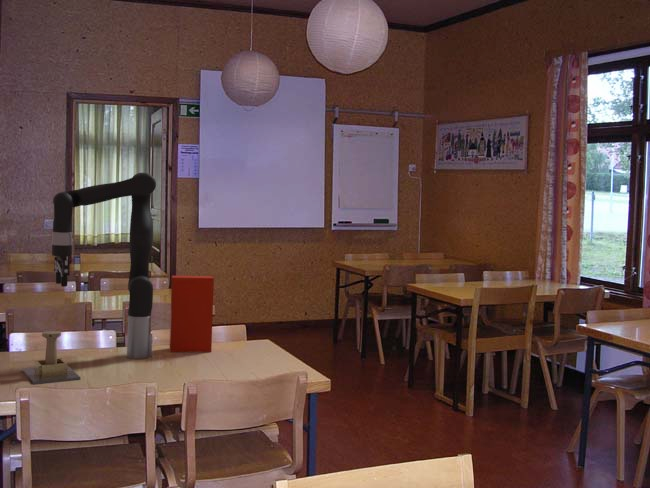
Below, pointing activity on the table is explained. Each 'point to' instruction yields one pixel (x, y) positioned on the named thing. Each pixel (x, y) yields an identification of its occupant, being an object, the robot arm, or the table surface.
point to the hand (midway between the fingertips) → (61, 284)
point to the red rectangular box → (191, 313)
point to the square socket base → (50, 372)
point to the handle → (51, 346)
